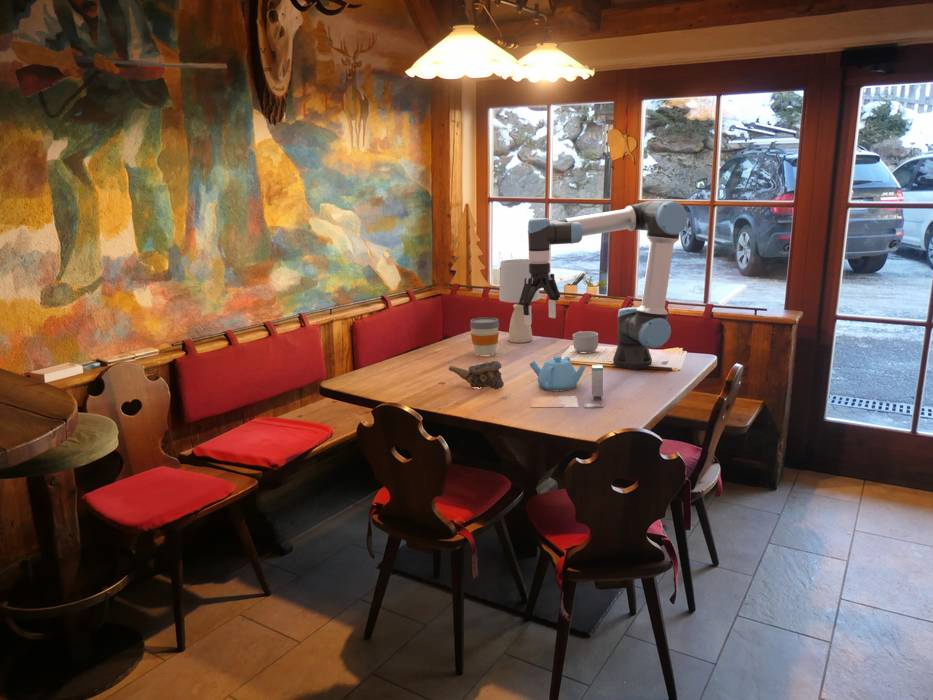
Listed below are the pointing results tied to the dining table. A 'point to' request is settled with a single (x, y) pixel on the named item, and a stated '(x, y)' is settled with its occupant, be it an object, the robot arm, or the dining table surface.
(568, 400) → the paper
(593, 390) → the grey rectangular block
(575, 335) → the teacup
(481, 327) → the reusable coffee cup
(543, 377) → the teapot
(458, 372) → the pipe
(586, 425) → the dining table surface
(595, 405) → the word card
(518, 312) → the lamp
